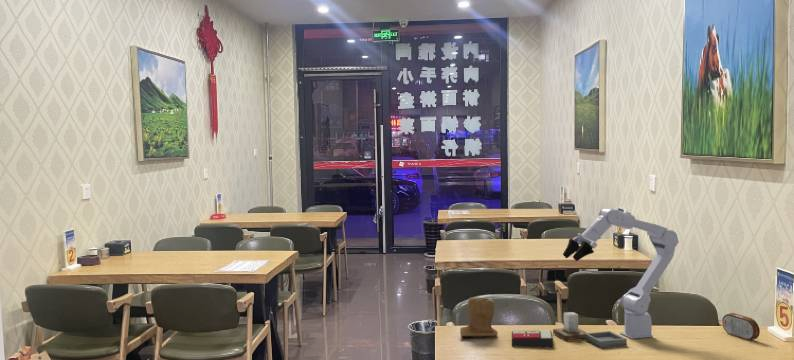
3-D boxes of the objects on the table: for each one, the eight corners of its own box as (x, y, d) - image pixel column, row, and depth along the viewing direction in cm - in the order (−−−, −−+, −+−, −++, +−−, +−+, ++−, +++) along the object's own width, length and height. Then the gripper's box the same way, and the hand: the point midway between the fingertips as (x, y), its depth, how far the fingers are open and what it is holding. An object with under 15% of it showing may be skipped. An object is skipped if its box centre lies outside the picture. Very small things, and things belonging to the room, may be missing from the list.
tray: (609, 337, 243) (609, 331, 243) (626, 345, 232) (626, 338, 232) (584, 339, 240) (584, 333, 240) (600, 348, 230) (600, 341, 230)
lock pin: (572, 334, 248) (572, 312, 247) (578, 337, 244) (578, 314, 243) (563, 335, 247) (563, 312, 246) (568, 338, 243) (568, 315, 242)
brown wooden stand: (493, 330, 255) (493, 293, 254) (499, 339, 243) (499, 300, 242) (456, 331, 254) (456, 294, 254) (460, 340, 243) (460, 301, 242)
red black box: (511, 329, 245) (551, 328, 242) (512, 340, 245) (551, 339, 242) (511, 337, 234) (552, 336, 231) (512, 348, 234) (553, 348, 231)
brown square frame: (575, 331, 251) (575, 326, 251) (589, 338, 242) (589, 333, 241) (553, 333, 249) (553, 328, 249) (565, 341, 239) (565, 335, 239)
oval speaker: (760, 342, 235) (760, 319, 234) (754, 343, 234) (754, 320, 233) (726, 331, 249) (726, 310, 249) (720, 332, 248) (720, 311, 247)
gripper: (577, 223, 246) (554, 247, 244) (597, 227, 232) (572, 252, 230) (588, 236, 247) (565, 260, 245) (609, 240, 233) (584, 266, 231)
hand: (569, 257), depth 237 cm, fingers open, 7 cm apart
